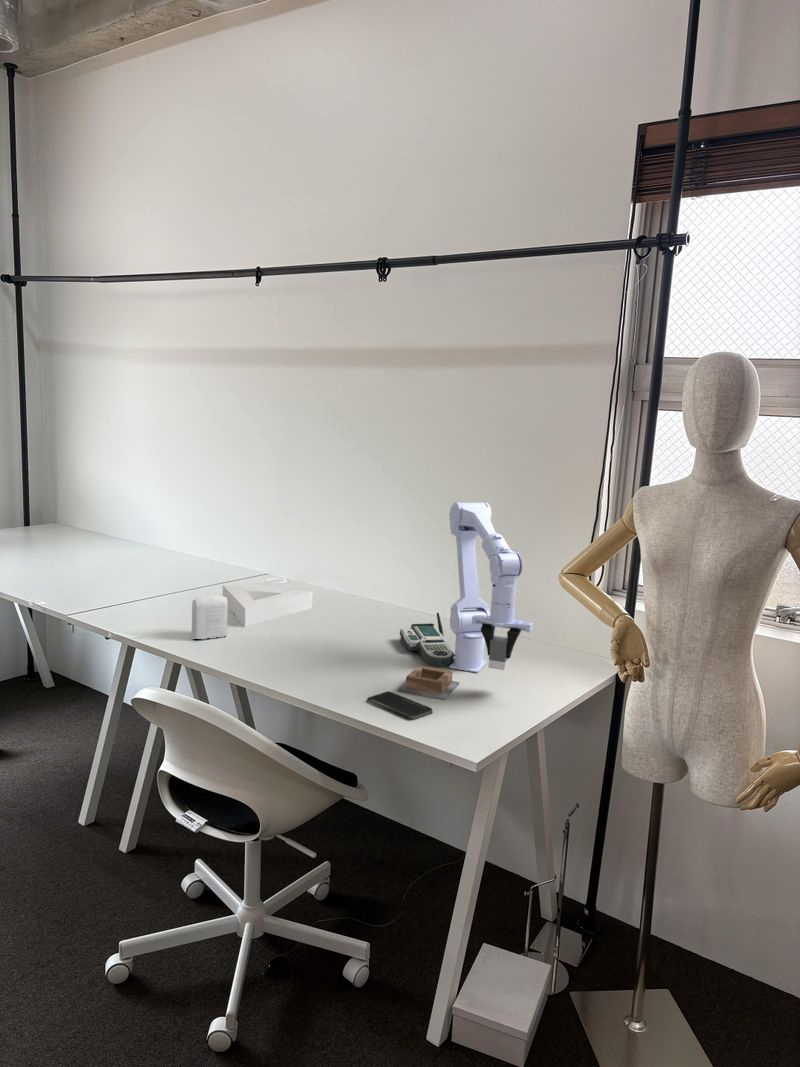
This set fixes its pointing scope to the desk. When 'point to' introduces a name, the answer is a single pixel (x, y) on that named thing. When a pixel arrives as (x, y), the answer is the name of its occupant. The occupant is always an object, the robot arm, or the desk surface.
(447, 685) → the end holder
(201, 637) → the white upright block
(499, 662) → the connector plug
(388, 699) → the phone
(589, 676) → the desk surface
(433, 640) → the communication device
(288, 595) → the triangle block
